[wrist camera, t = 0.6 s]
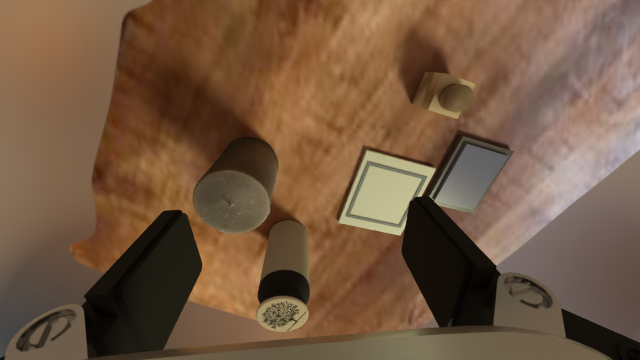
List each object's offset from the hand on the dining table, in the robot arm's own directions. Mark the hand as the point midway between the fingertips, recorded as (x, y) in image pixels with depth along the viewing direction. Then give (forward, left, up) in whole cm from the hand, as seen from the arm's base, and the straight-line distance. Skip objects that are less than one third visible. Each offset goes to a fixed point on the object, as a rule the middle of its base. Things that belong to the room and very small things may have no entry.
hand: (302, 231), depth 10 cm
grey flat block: (+4, +34, -32) cm, 47 cm away
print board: (+12, +20, -32) cm, 40 cm away
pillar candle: (+12, -6, -33) cm, 35 cm away
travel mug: (+26, +4, -33) cm, 42 cm away
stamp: (-8, +20, -32) cm, 39 cm away
